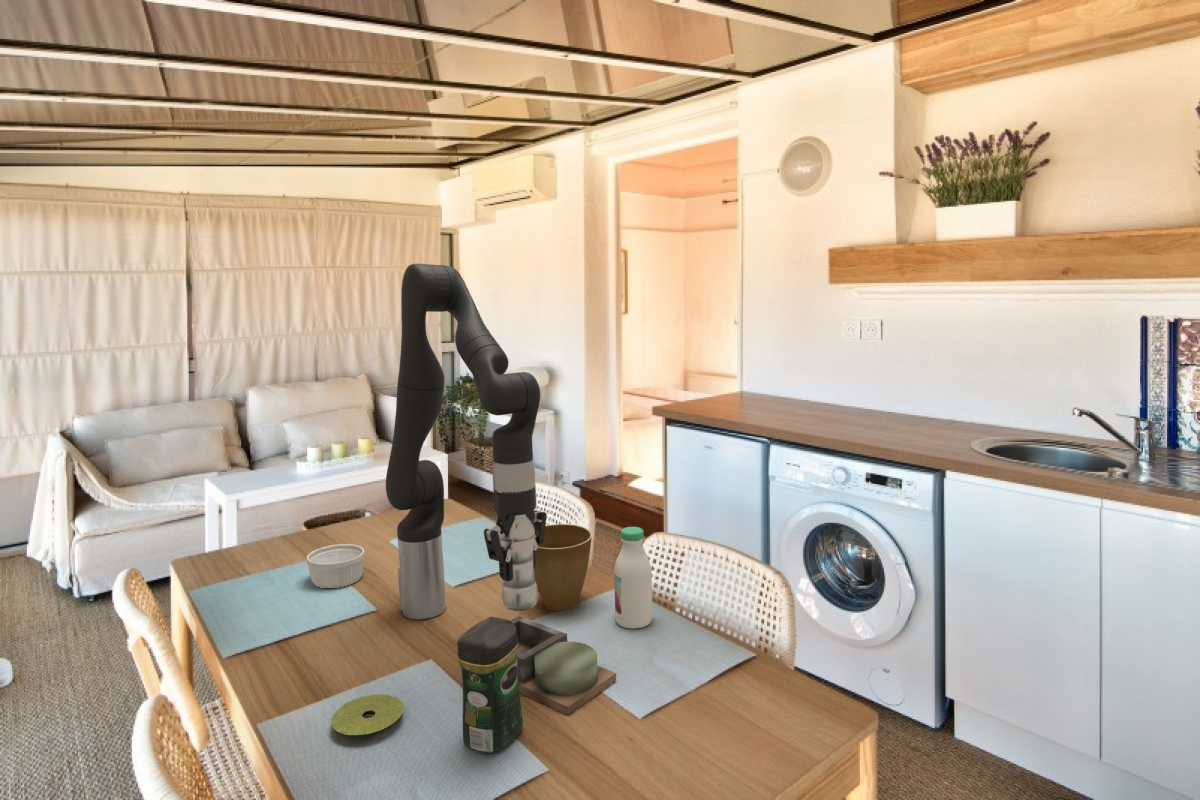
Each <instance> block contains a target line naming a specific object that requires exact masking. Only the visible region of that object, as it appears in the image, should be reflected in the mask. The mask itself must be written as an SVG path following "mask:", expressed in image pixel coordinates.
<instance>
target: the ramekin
mask: <svg viewBox="0 0 1200 800" xmlns="http://www.w3.org/2000/svg"><path fill="white" fill-rule="evenodd" d="M364 558H365V550H364V548H363V547H362V546H360V545H358V544H357V545H356V544H351V543H339V544H332V545H326V546H323V547H320V548H317V549H314V550H313V551H310V553H308V554H307V556H306V565H307V567H308V571H309V576H310V580H311V582H312V584H313V585H314V586H316V588H319V587H320V588H319V589H322V588H337V589H339V588H338V587H342V588H344V587H343V586H346V587H348V586H347V585H349V586H352V585H354V584H355V582H356V583H357V582H358V581H359V580H360V579H361V578H362V575H363V573H364V571H363V569H364ZM353 583H354V584H353ZM351 584H352V585H351Z"/></svg>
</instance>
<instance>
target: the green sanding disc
mask: <svg viewBox="0 0 1200 800" xmlns="http://www.w3.org/2000/svg"><path fill="white" fill-rule="evenodd" d="M404 711H405V707H404V703H403V701H402V700H401V699H400V698H398V697H396V696H394V695H390V694H383V693H382V694H380V693H377V694H373V693H372V694H368V695H363V696H359V697H357V698H355V699H352V700H350V701H348V702H346V703H344V704H342V705H340V707H339V708H338V709H336V711H335V712H334V713H333V715H332V716H331V719H330V720H331V721H330V722H331V726H332V728H333V729H334V730H335V731H336V732H338V733H340V734H342V735H346V736H347V735H348V736H362V735H363V736H364V735H369V734H373V733H376V732H380V731H382V730H384V729H386V728H388V727H389V726H392V725H393V724H394V723H395V722H397V721H398V719H400V717H401V716H402V715H403V713H404Z"/></svg>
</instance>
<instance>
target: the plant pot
mask: <svg viewBox="0 0 1200 800" xmlns="http://www.w3.org/2000/svg"><path fill="white" fill-rule="evenodd" d="M537 536H539V531H538V530H537ZM592 538H593V534H592V532H591V530H589V529H588V528H586V527H585V526H581V525H577V524H570V523H559V524H558V523H556V524H548V525H547V524H546V527H545V537H544V543H543V544H539V545H538V548H537V550H536V568H535V569H534V575H535V581H536V584H537V589H538V595H539V597H540V600H541V602H542V603H543V605H544V607H545V608H546V609H548V610H550V611H554V612H555V611H559V612H560V611H568V610H571V609H573V608H574V607H576V606H577V604H578V603H579V599H580V596H581V593H582V590H583V588H584V583H585V580H586V576H587V571H588V567H589V562H590V555H591V548H592V547H591V546H592Z"/></svg>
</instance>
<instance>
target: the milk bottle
mask: <svg viewBox="0 0 1200 800" xmlns="http://www.w3.org/2000/svg"><path fill="white" fill-rule="evenodd" d="M620 532H621V533H620V535H621V539H620V540H621V542H622V546H621V549H620V551H619V554H618V556H617V558H616V561H615V564H614V565H615V566H614V608H615V609H614V613H615V615H614V617H615V622H616V624H618V625H619V626H620V627H623V628H625V629H633V630H634V629H642V628H646V627H647V626H649V625H650V624H651V622H652V620H653V587H652V584H653V583H652V580H653V579H652V577H653V576H652V566H651V563H650V562H651V561H650V559H649V557H648V555H647V553H646V551H645V547H644V543H643V541H645V540H644V535H645V534H644V532H645V531H644V529H642V527H638V526H627V527H624V528H622V529H621V531H620Z"/></svg>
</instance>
